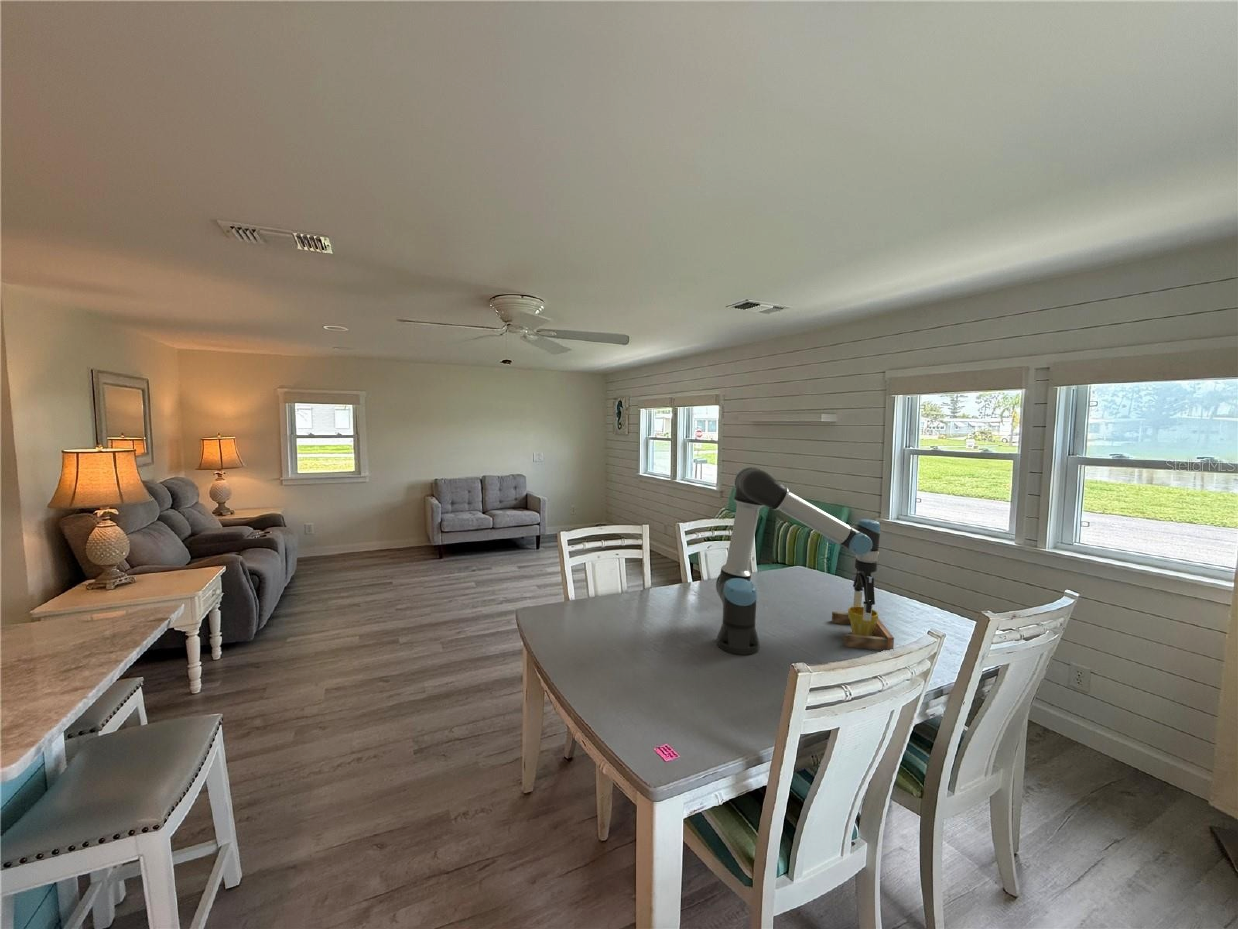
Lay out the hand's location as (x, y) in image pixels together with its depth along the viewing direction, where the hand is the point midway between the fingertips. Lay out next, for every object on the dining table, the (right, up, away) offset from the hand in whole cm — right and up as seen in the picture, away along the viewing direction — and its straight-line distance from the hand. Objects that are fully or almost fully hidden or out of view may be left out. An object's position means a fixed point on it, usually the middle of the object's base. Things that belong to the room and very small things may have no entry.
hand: (861, 613), depth 190 cm
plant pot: (0, -9, +1) cm, 9 cm away
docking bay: (-1, -9, +1) cm, 9 cm away
